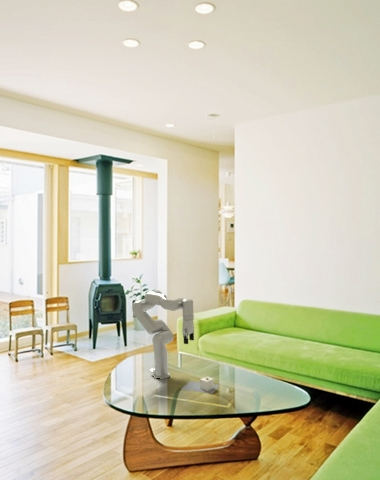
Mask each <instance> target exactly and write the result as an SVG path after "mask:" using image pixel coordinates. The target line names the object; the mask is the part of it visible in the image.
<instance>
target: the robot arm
mask: <svg viewBox="0 0 380 480" xmlns="http://www.w3.org/2000/svg"><path fill="white" fill-rule="evenodd" d="M155 306H160V307H161V309H162V308H163V309H164V310H168V311H171V312H172V311H173V312H175V311H179V310H182V328H181V329H182V331H181V332H182V337H183V344H184V345H189V341H195V324H194V323H195V322H194V319H195V318H194V317H195V316H194V300H193V299H190V298H184V297H179V298H175V299H168V297H167V295H166V294H164V293H162V291H160V290H152V291H148V292H146V293H145V295H144V299H139V300H137V301H134V302H133V304H132V306H131V308H132V313H133V316H134V317H135V319H136V320H138V322H139V324H141V326H142V327H143V329H144V330H145V331H146V332H147V333H148V334H149V335H152V345H153V357H154V368H150V373H152V377H153V376H154V377H155V378H154V377H153V378H154V379H156V378H160V379H159V380H163V379H168V378H169V377H170V376H171V373H170V372H169V368H168V367H169V366H168V361H169V360H168V350H167V347H166V345H168V344H171V343H172V342H173V341H174V337H175V336H174V333H173V331H172V330H171V329H170V328H169V327H168V325H167V323H166V322H164V321H163V320H162V319H153V318H152V316H150V315H149V313H147V312H146V311H149V310H151V309H153V308H154V307H155Z"/></svg>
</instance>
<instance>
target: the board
mask: <svg viewBox="0 0 380 480" xmlns="http://www.w3.org/2000/svg"><path fill="white" fill-rule="evenodd" d="M220 386H221V385H220V384H215V383H214V388H213V389H211V390H208V391H206V390H203V389H201V388H200V381H193V380H190V381H188V382H187V383H186V384H185V385H183V387H182V388H181V390H183V391H190V392H197V393H203V394H210V395H211V394H214V392H215V391H216V390H217V389H218V388H219V387H220Z"/></svg>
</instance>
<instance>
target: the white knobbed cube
mask: <svg viewBox="0 0 380 480" xmlns="http://www.w3.org/2000/svg"><path fill="white" fill-rule="evenodd" d="M199 382H200V388H201V389H203V390H206V391H208V390H211V389H213V388H214V384H215V378H212V377H209V376H204V377H203V378H200V379H199Z"/></svg>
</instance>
